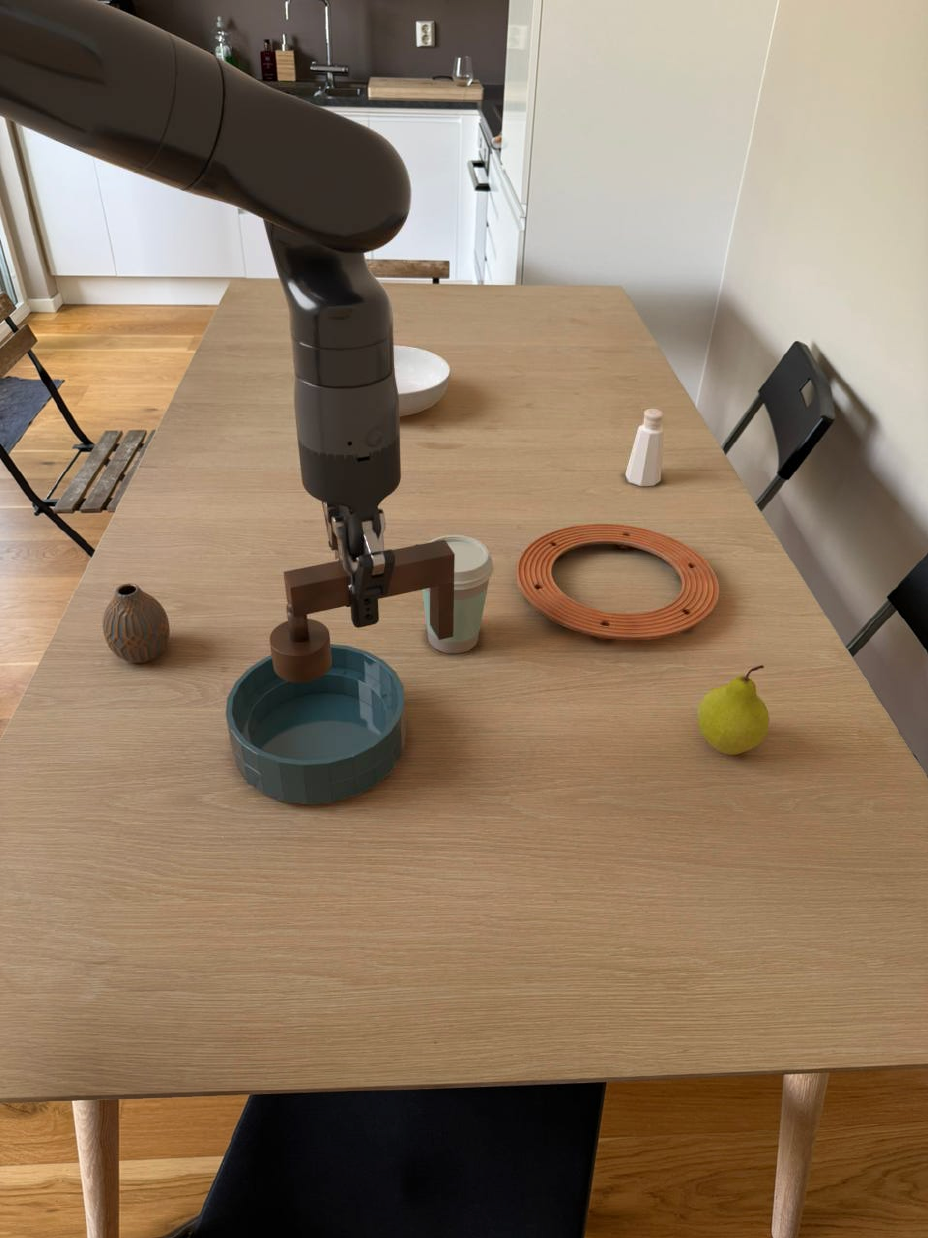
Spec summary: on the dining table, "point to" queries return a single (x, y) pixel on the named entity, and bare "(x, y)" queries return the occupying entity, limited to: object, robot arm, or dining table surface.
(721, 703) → the fruit
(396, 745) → the mixing bowl
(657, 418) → the pepper shaker
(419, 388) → the serving bowl
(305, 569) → the brown wooden bracket
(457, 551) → the coffee cup
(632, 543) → the ring
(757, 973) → the dining table surface
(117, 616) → the vase
